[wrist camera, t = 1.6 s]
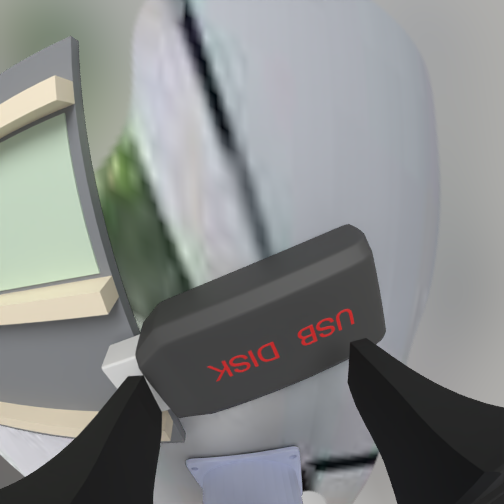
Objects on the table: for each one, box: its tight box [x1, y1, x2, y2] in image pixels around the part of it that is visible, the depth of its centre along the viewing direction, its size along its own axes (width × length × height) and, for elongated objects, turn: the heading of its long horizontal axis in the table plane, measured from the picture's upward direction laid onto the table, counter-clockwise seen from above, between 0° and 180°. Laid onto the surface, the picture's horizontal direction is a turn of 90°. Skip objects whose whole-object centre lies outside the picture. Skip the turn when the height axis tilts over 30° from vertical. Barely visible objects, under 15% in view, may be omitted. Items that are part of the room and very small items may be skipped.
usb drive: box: [102, 224, 386, 418], centre depth 12 cm, size 5×12×3 cm, turn 111°
